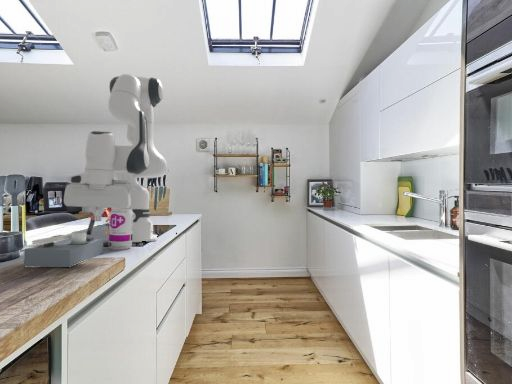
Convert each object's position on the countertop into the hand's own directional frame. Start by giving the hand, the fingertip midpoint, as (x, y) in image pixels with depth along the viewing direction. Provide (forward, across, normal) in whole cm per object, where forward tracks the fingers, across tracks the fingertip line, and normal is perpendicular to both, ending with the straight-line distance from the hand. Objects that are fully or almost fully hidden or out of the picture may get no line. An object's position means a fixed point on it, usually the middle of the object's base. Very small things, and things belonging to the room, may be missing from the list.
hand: (97, 221), depth 103 cm
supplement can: (+12, -3, -16) cm, 20 cm away
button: (+7, +3, +6) cm, 9 cm away
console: (+12, +6, +5) cm, 14 cm away
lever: (+5, +3, 0) cm, 6 cm away
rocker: (+5, +9, +11) cm, 15 cm away
